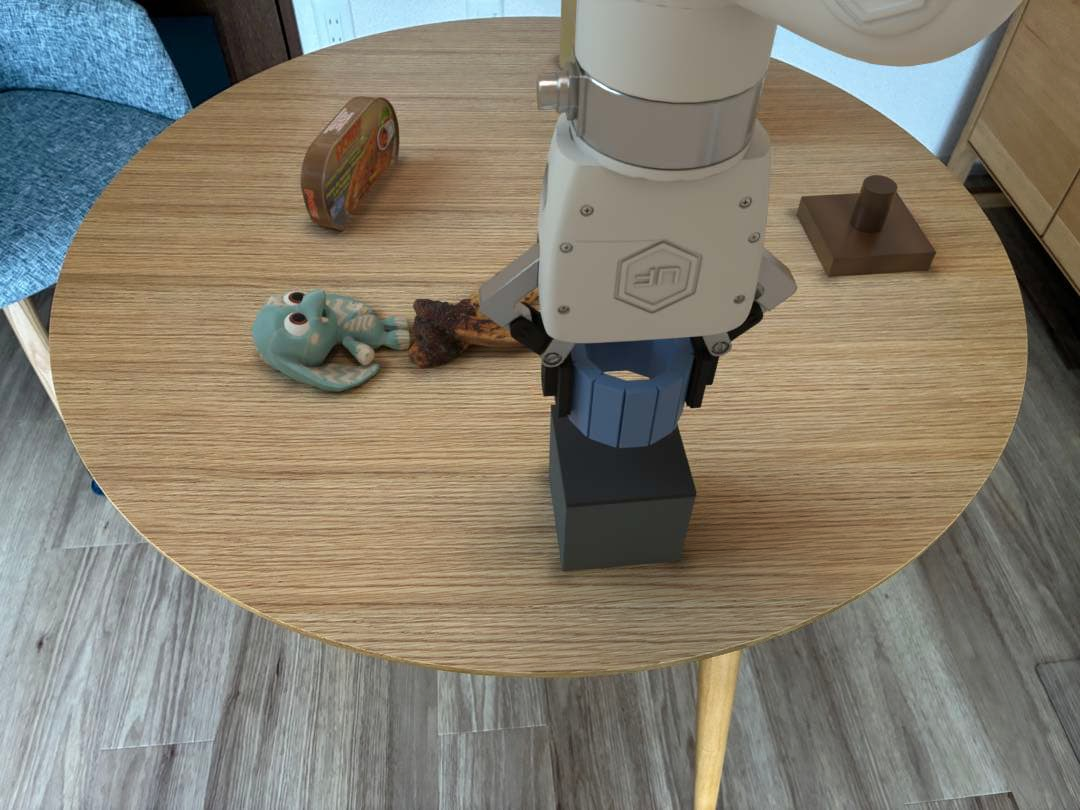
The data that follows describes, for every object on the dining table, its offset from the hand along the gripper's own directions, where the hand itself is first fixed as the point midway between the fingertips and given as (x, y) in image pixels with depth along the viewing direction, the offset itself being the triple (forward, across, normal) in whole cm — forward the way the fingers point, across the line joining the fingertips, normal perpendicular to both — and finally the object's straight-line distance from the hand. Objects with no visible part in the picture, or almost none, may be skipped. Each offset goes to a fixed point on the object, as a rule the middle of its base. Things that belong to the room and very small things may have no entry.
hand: (624, 392), depth 48 cm
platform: (+13, +27, +27) cm, 40 cm away
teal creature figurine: (+14, -19, +18) cm, 29 cm away
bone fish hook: (+13, -5, +20) cm, 24 cm away
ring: (+1, 0, 0) cm, 1 cm away
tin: (+14, -18, +39) cm, 45 cm away
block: (+13, 0, 0) cm, 13 cm away
